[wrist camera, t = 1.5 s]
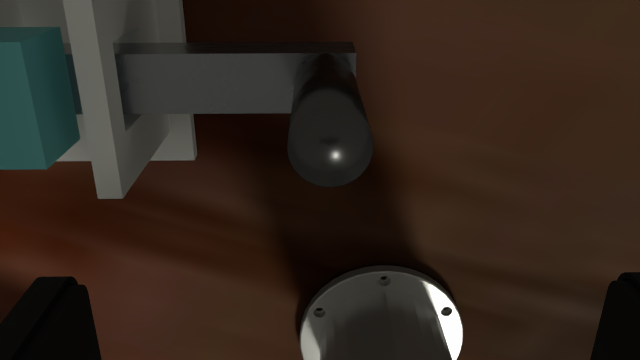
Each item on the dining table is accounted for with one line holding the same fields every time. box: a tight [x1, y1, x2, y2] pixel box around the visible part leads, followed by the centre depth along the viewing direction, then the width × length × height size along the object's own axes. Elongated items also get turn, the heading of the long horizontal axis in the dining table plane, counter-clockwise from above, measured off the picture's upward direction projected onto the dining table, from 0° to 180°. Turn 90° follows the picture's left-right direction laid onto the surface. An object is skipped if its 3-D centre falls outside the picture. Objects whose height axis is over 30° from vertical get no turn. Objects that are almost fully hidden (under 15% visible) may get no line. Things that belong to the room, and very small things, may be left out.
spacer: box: [0, 27, 80, 169], centre depth 26 cm, size 6×4×4 cm
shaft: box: [63, 42, 373, 187], centre depth 25 cm, size 3×22×12 cm, turn 90°
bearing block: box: [0, 0, 197, 199], centre depth 31 cm, size 14×12×11 cm
